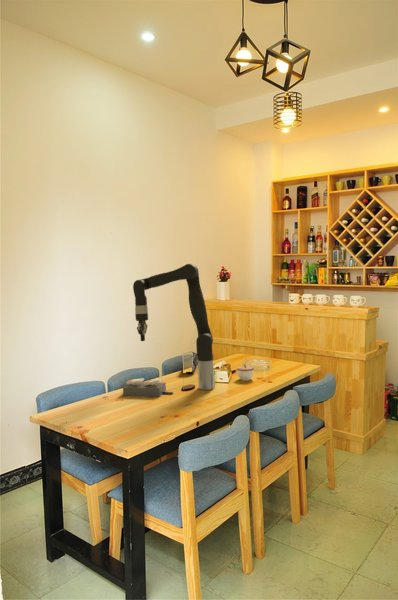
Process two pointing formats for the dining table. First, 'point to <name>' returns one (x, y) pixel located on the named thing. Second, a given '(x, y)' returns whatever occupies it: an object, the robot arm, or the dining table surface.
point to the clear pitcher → (194, 361)
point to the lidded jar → (245, 372)
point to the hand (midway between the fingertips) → (142, 340)
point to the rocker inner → (152, 381)
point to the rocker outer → (135, 381)
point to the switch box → (145, 390)
